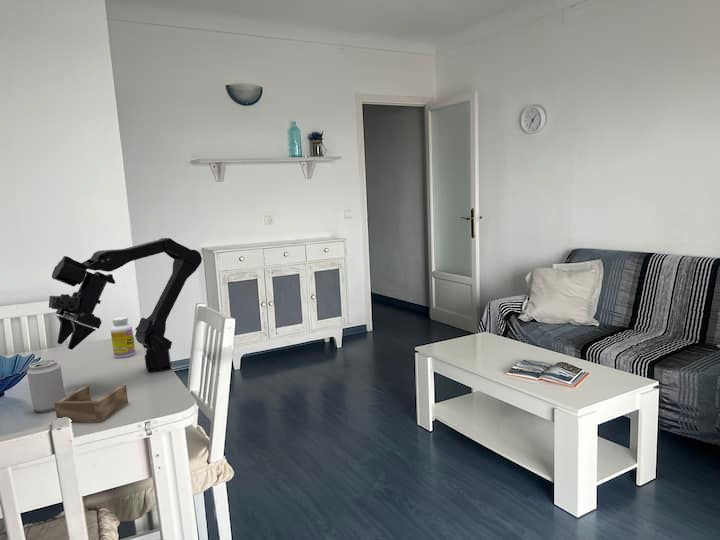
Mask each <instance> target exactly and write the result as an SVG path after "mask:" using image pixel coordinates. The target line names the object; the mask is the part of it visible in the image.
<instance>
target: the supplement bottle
mask: <svg viewBox="0 0 720 540" xmlns="http://www.w3.org/2000/svg"><path fill="white" fill-rule="evenodd" d="M128 322H129V319H128V316H119V317H114V318H113V319H112V325H113V326H112V327H111V328H110V336H111V342H112V348H113V349H112V350H113V356H114V358H116V359H123V358H130V357H132V356H134V355H135V354H136V347H135V340H134V331H133V326H132V325H131V324H130V323H128Z"/></svg>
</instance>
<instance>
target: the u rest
mask: <svg viewBox="0 0 720 540" xmlns="http://www.w3.org/2000/svg"><path fill="white" fill-rule="evenodd" d="M128 399H129V398H128V391H127V385H126V384H121V385H119V386H118V387H116V388H114V389H113V390H111V391H110V392H108V393H107V394H105V395H103V396H102V397H101V398H99V399H98V400H92V396H91V390H90V385H84V386H82V387H80V388H79V389H76V390H75V391H73V392H72V393H70V394H69V395H67V396H66V395H65V398H63V399H61V400H60V401H58V402H56V403H54V404H55V416H56V419H57V418H63V417H68V418H70V419H71V420H72V422H71V423H102V422H104V421H105V420H107V419H108V418H109V417H111V416H112V415H113V414H112V413H114V412H115V411H116V410H118V409H119V408H121V407H122V406H123V405H125V404H126V403H128V404H129V400H128ZM126 405H127V404H126ZM126 405H125V406H126ZM123 407H124V406H123ZM123 407H122V408H123ZM122 408H121V409H122ZM119 410H120V409H119ZM119 410H118V411H119ZM116 412H117V411H116ZM116 412H115V413H116ZM115 413H114V414H115ZM111 414H112V415H111ZM110 415H111V416H110ZM108 416H109V417H108ZM107 417H108V418H107ZM106 418H107V419H106ZM104 419H105V420H104ZM103 420H104V421H103Z"/></svg>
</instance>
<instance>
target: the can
mask: <svg viewBox="0 0 720 540" xmlns="http://www.w3.org/2000/svg"><path fill="white" fill-rule="evenodd" d="M26 374H27V379H28V380H27V381H28V386H29V392H30V396H31V404H32V408H33V410H35V411H37V413H38V412H39V413H47V412H51V411H54V410H55V404H54V403H56V402H58V401H60V400H61V399H63V398H65V397H66V393H65V387H64V380H63V374H62V367H61V364H60V363H58V361H57V359H43V360H40V361H36V362H33V363H30V364H29V365H28V370H27V371H26ZM55 411H56V410H55Z"/></svg>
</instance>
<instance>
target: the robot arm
mask: <svg viewBox="0 0 720 540" xmlns="http://www.w3.org/2000/svg"><path fill="white" fill-rule="evenodd" d="M161 253H165V254H166V255H167V257H170V258H171V259H173V263H172V273H171V275H170V277H169V279H168V281H167V283H166V285H165V287H164V288H163V291H162V292H161V294H160V296H159V298H158V300H157V302H156V305H155V307H154V308H153V310H152V313H151V314H150V315H149V316H148V317H147V318H145V317H141V318H140V321H139V322H138V323H139V324H138V325H137V327H136V328H134V329H135V339H136V341H137V342H138V343H139V344H141V345H142V347H143V348H144V349H145V350H146V351H145V355H144V360H145V367H146V369H147V373H154V372H160V371H165V370H166V371H167V370H171V369H172V368H171V367H172V363H173V362H172V361H171V353H170V349H171V348H172V345H173V342H172V341H171V340H170V339H168V338H166V337H165V334H166V327H167V320H168V317H169V315H170V314H171V312H172V310H173V308H174V306H175V303H176V301H177V300H178V297H179V295H180V293H181V291H182V289H183V287H184V285H185V284H186V282H187V280H188V279H189V278H190V276H192V275H193V274H194V273H195V272H196V271H197V269H198V268H199V267H200V265H201V264H202V261H203V258H202V254H201V253H200V252H199V251H198V250H196V249H191V248H190V247H187V246H184V245H182V244H180V243H178V242H176V241H175V240H174V239H172V238H169V237H161V238H160V239H159V238H158V239H157V240H152V241H149V242H148V241H147V242H145V243H141V244H137V245H133V246H130V247H126V248H120V249H118V248H117V249H105V250H104V249H103V250H97V251H95V252H94V253H93V254H92V256H91V258H88V259H86V260H85V261H83V262H79V261H77V260H74V259H73V258H72V257H69V256H67V255H63V256H62V259H61V260H60V261H59V262H58V263H57V265H55V266H54V268H53V269H52V274H51V278H52V279H53V280H55V281H58V282H59V283H63V284H65V285H68V286H71V287H75V286H77V285H80V286H79V289H78V290H77V291H74V292H73V293H72V294H71V295H70V294H67V293H66V294H64V293H61V294H60V295H49V298H48V299H49V300H48V301H49V302H48V308H51V309H52V310H56V311H55V314H56V318H57V319H58V322H59V331H58V336H57V344H58V345H63V343H65V341H66V340H67V339H68V338H69V337H70V339H69V341H68V347H67V349H68V350H73V349H75V348H76V347H77V346H78V345H79V344H80V343H82V341H84V340H85V339H86V338H87V337H88V336H89V335H91V334H92V333H93V332H96V330H97V329H100V327H101V325H102V320H101V318H100V317H98V316H95V314H93V313H94V312H95V311H94V310H95V309H96V307H97V305H100V303H102V301H101V300H100V298H101V296H102V294H103V292H104V289H105V287H106V285H107V283H109V284H112V285H115V284H116V280H115V279H114V276H113V274H112V273H109V272H114V271H116V270H117V269H119V268H122V267H123V266H125V265H127V264H128V263H130V262H133V261H136V260H141V259H144V258H147V257H151V256H154V255H159V254H161ZM87 270H88V271H87ZM90 271H94V273H92V272H90ZM101 271H102V272H107V273H108V274H104V273H102V272H101Z"/></svg>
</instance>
